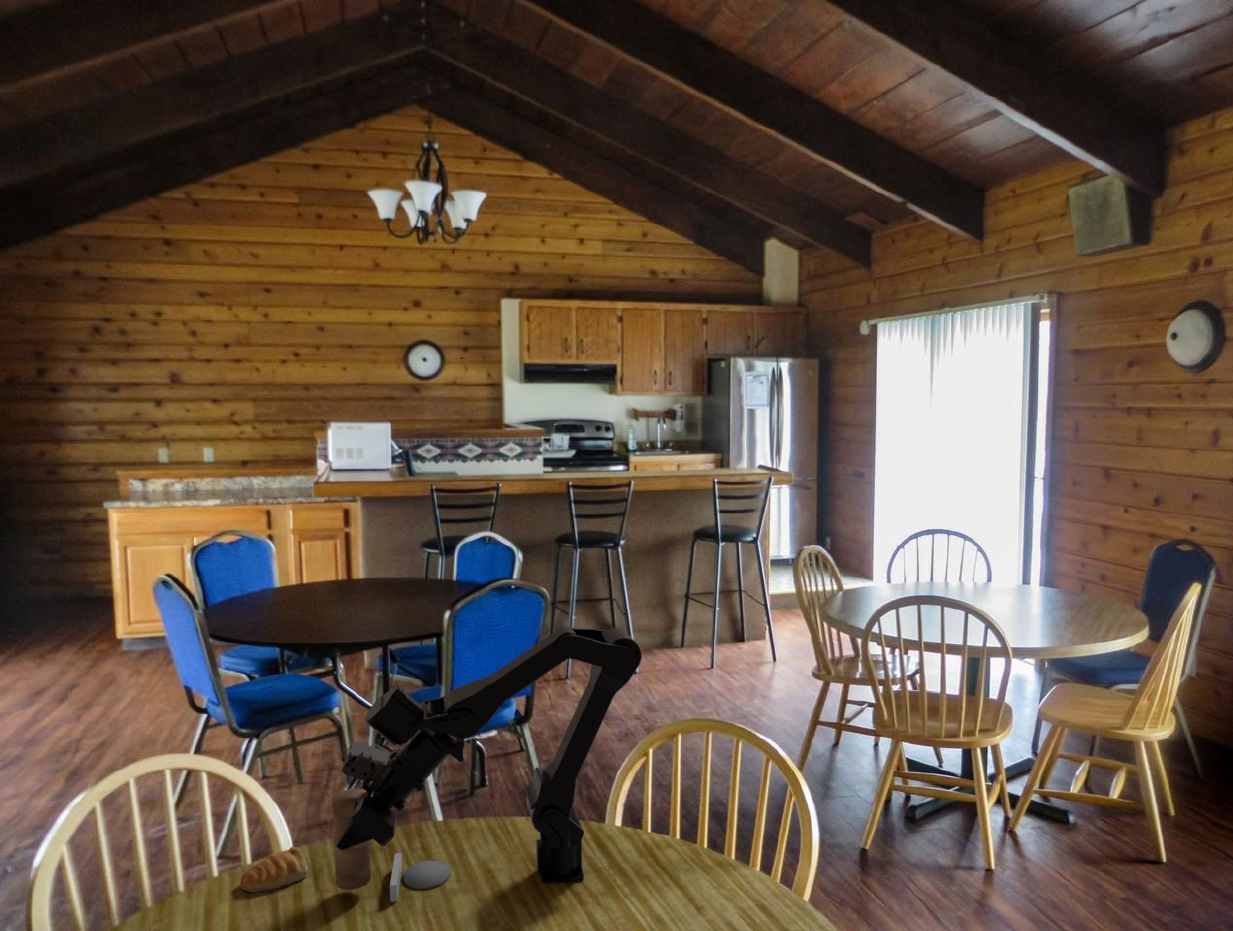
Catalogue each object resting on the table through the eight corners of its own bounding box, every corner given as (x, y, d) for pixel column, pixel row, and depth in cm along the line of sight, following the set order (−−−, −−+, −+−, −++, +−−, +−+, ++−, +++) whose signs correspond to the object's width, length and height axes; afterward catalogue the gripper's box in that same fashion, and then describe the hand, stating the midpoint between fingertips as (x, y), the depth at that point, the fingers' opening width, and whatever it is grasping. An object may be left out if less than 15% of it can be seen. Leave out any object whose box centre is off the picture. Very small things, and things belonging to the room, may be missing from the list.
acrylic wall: (401, 867, 138) (401, 852, 138) (397, 901, 129) (396, 884, 129) (395, 868, 138) (394, 853, 138) (390, 901, 129) (389, 885, 129)
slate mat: (450, 861, 140) (450, 858, 140) (449, 886, 133) (449, 883, 133) (405, 865, 139) (405, 862, 139) (402, 891, 132) (401, 887, 132)
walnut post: (372, 869, 134) (369, 786, 132) (368, 887, 129) (365, 802, 128) (338, 872, 133) (335, 789, 132) (333, 891, 128) (330, 805, 127)
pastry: (250, 902, 129) (249, 877, 129) (233, 883, 134) (232, 860, 134) (312, 877, 136) (311, 854, 135) (293, 860, 141) (292, 838, 140)
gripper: (383, 703, 138) (313, 775, 138) (365, 753, 120) (284, 836, 120) (436, 748, 140) (367, 820, 140) (426, 804, 122) (346, 886, 121)
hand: (342, 838), depth 130 cm, fingers closed on walnut post, 5 cm apart
